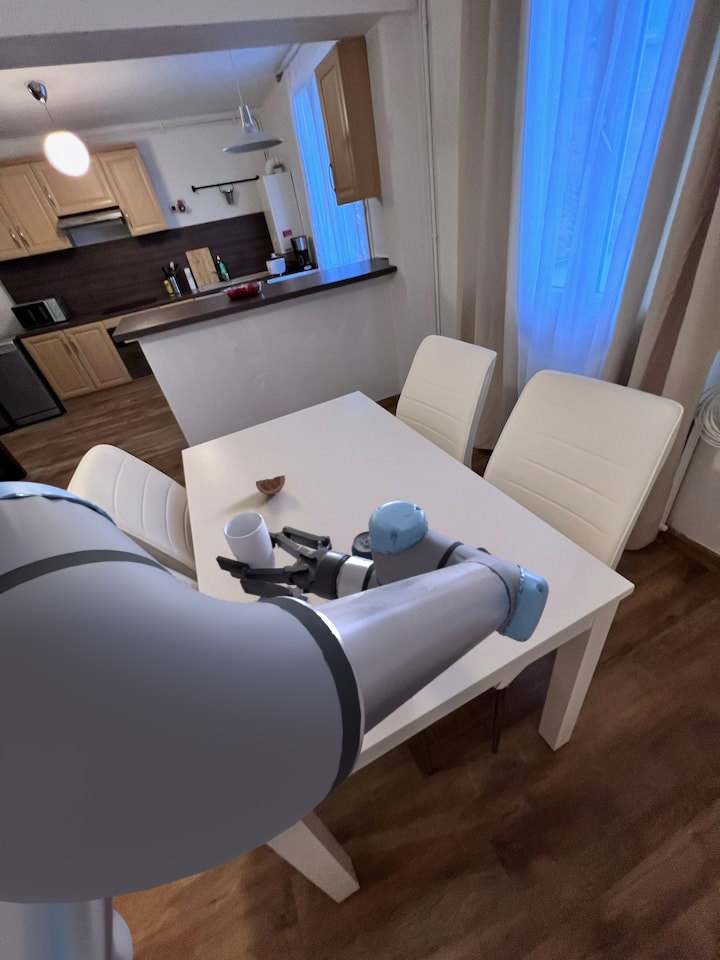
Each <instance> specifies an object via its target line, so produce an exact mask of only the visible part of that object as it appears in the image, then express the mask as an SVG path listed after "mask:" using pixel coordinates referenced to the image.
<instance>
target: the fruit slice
mask: <svg viewBox="0 0 720 960" xmlns="http://www.w3.org/2000/svg"><path fill="white" fill-rule="evenodd" d="M286 480H287V479H286V476H285V474H283V475H279V476H278V475H277V476H275V477H273V478H265V479H260V480H257V481H255V485H256V488H257V490H258V491H259V492H260V493H261V494H264V495H270V496H273V495H275V494H278V493H280V492H281V490H283V487H284V486H285V483H286Z"/></svg>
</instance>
